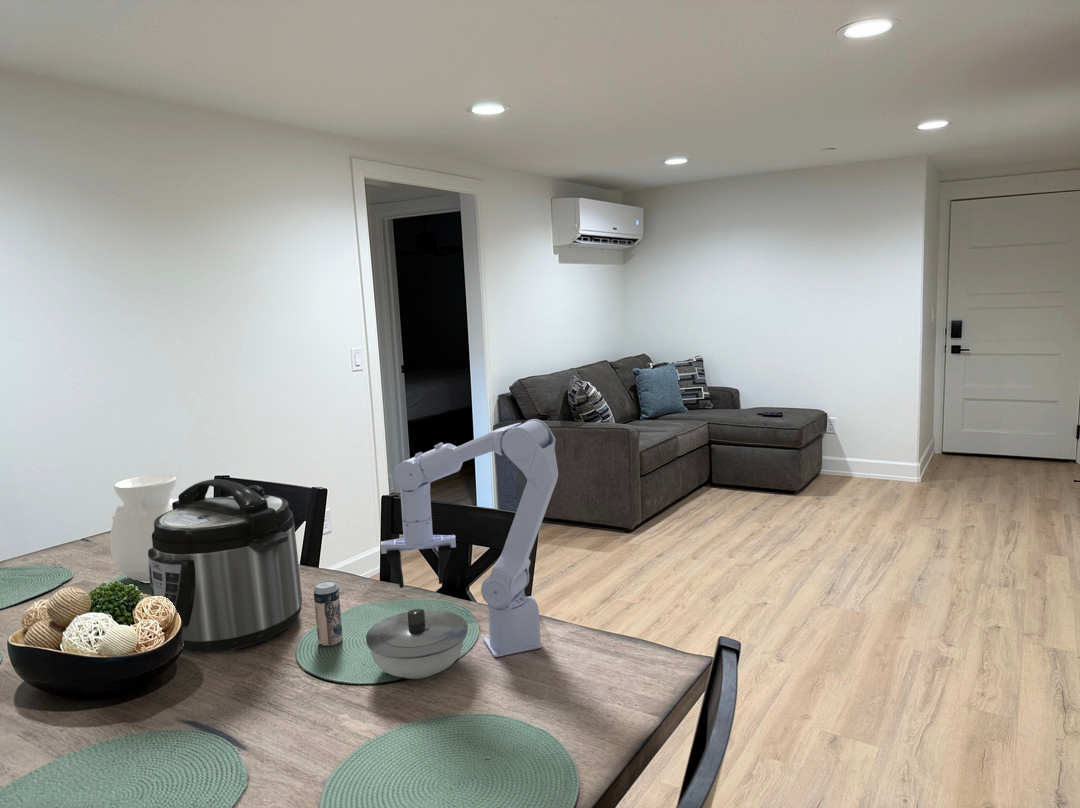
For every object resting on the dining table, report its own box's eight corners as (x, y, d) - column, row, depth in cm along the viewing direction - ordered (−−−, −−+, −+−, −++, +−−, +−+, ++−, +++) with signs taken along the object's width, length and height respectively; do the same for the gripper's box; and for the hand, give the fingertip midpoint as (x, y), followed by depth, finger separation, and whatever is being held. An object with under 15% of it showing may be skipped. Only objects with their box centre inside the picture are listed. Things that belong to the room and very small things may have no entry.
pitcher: (134, 566, 195) (123, 474, 192) (207, 561, 197) (197, 469, 194) (101, 594, 177) (87, 492, 173) (181, 588, 179) (170, 487, 175)
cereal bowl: (422, 702, 124) (419, 662, 123) (352, 678, 133) (349, 641, 132) (483, 659, 138) (481, 623, 137) (416, 639, 147) (414, 606, 146)
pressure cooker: (163, 614, 164) (146, 474, 160) (297, 590, 175) (285, 458, 170) (151, 676, 137) (131, 508, 132) (311, 643, 147) (297, 487, 143)
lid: (456, 607, 145) (455, 586, 144) (478, 647, 128) (476, 623, 127) (361, 623, 140) (360, 601, 139) (371, 666, 123) (369, 642, 122)
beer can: (336, 648, 145) (331, 589, 143) (313, 647, 146) (308, 588, 144) (347, 637, 149) (342, 580, 148) (325, 636, 150) (320, 579, 149)
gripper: (378, 527, 141) (383, 595, 143) (455, 520, 144) (458, 587, 146) (380, 516, 148) (384, 581, 150) (453, 510, 150) (456, 574, 152)
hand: (421, 584), depth 148 cm, fingers open, 7 cm apart
